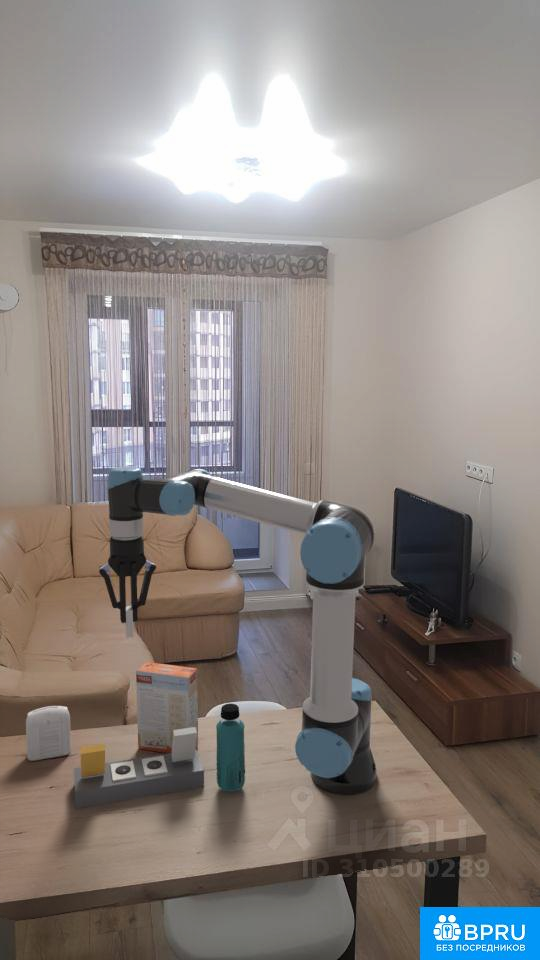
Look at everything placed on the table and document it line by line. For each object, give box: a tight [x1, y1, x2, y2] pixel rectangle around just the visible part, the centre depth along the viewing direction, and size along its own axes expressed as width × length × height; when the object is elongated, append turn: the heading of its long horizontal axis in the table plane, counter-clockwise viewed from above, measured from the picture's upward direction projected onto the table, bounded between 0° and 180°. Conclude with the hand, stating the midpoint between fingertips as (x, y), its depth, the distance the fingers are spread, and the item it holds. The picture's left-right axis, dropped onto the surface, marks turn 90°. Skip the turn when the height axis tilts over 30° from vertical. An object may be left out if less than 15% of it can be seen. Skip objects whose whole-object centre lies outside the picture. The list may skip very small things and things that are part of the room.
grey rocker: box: [172, 727, 197, 763], centre depth 157 cm, size 5×2×10 cm, turn 107°
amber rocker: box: [79, 743, 106, 778], centre depth 151 cm, size 5×2×10 cm, turn 107°
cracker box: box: [135, 661, 199, 754], centre depth 171 cm, size 14×6×21 cm, turn 73°
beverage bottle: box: [215, 703, 246, 792], centre depth 155 cm, size 6×7×20 cm
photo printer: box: [25, 705, 72, 762], centre depth 168 cm, size 10×4×12 cm, turn 111°
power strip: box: [73, 748, 205, 809], centre depth 157 cm, size 28×9×4 cm, turn 107°
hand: (129, 634), depth 160 cm, fingers closed
